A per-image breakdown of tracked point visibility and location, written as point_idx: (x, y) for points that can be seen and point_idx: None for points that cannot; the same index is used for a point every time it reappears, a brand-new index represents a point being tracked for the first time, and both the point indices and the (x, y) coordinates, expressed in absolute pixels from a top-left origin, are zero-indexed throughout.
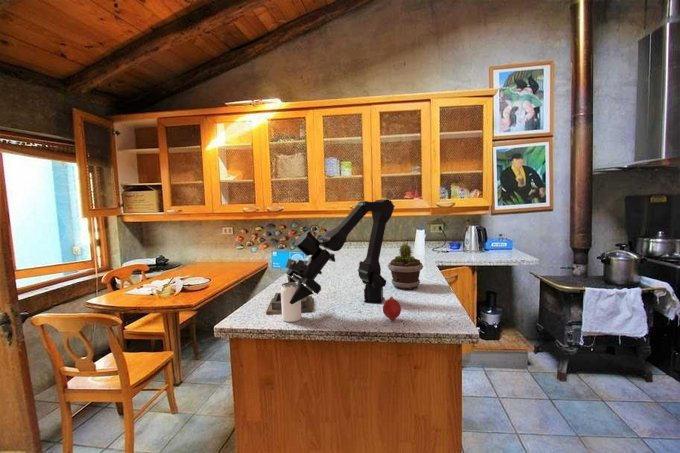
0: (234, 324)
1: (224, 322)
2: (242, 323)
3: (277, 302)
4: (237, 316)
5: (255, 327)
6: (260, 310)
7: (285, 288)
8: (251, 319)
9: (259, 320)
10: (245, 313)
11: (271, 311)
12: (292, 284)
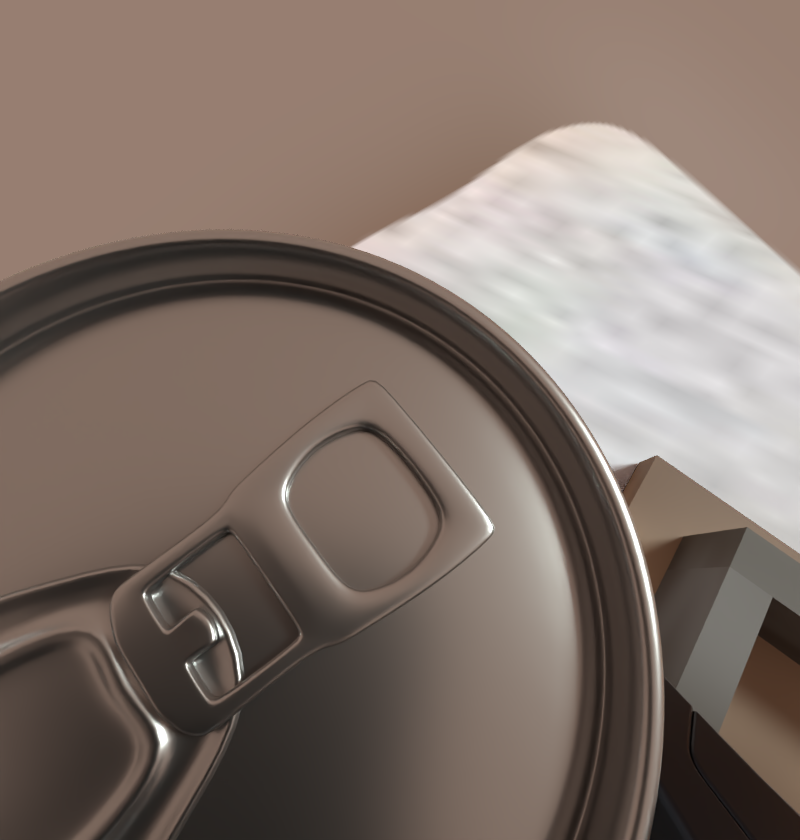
0: (575, 181)
1: (665, 158)
2: (555, 224)
3: (719, 601)
4: (742, 269)
5: (395, 245)
6: (791, 482)
7: (123, 294)
8: (597, 309)
9: (526, 342)
10: (781, 345)
11: (630, 503)
12: (251, 811)
